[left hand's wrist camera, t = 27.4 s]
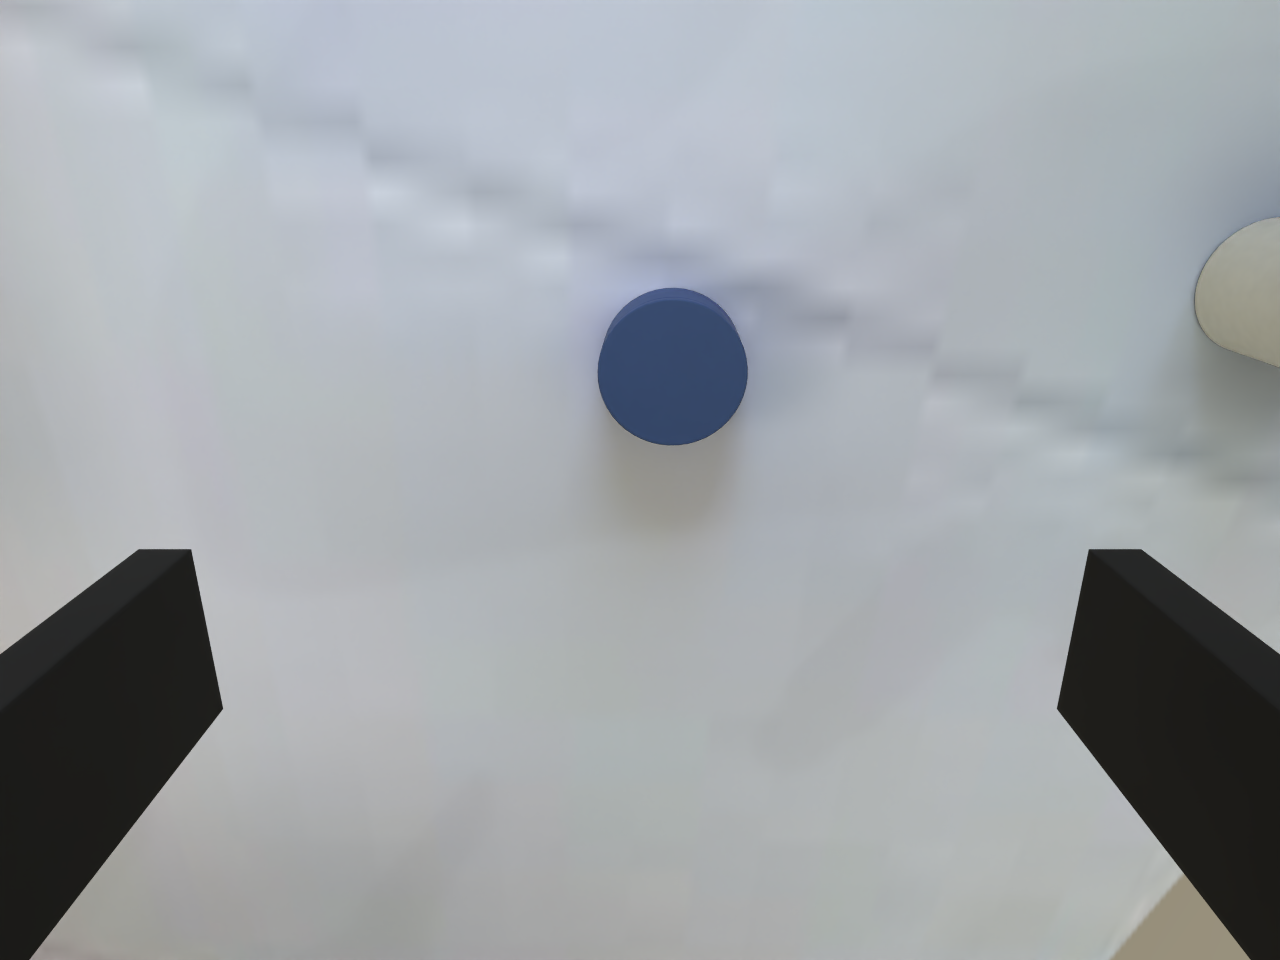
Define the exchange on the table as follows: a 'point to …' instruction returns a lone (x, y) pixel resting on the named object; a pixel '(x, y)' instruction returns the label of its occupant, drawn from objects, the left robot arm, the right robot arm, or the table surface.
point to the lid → (672, 367)
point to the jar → (1244, 292)
